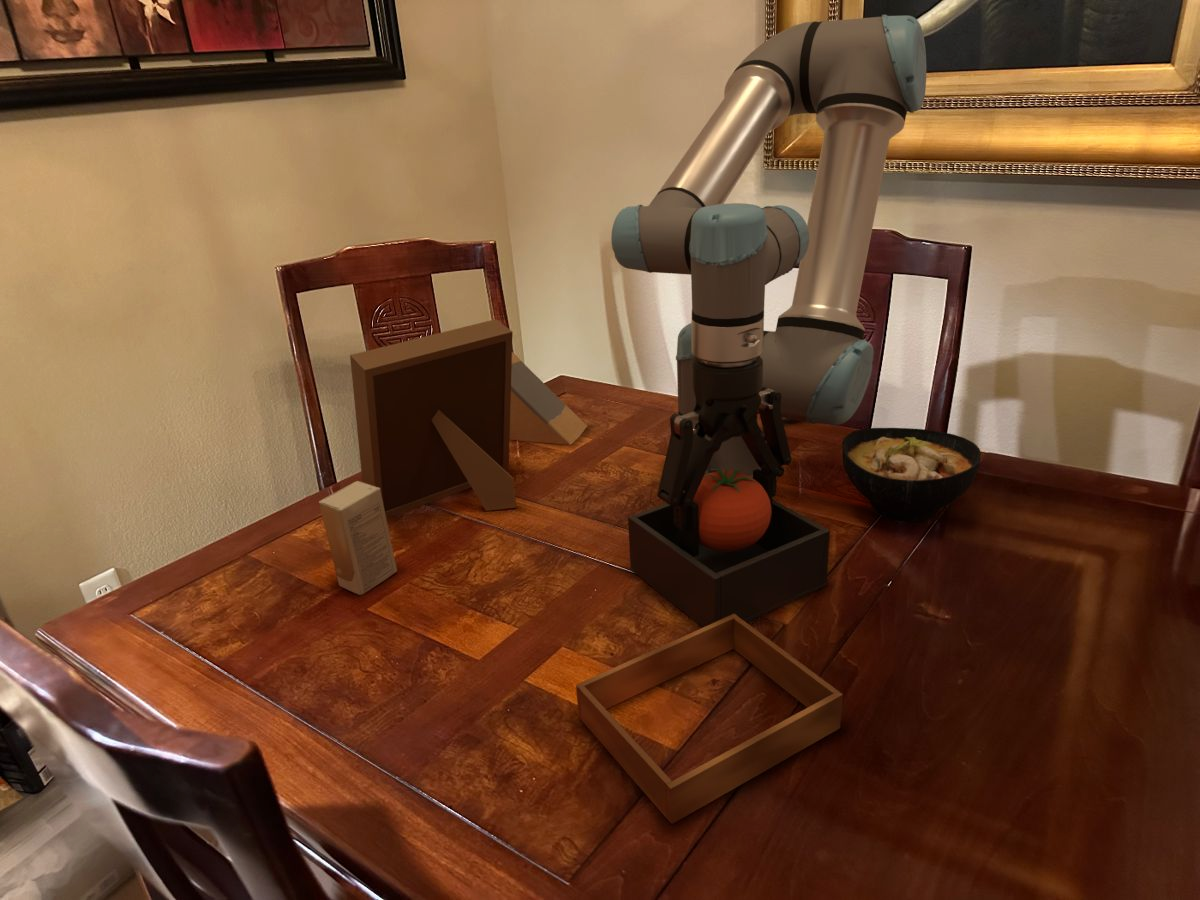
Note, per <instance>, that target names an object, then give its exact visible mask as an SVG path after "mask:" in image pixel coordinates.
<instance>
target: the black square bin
mask: <svg viewBox="0 0 1200 900" xmlns="http://www.w3.org/2000/svg"><path fill="white" fill-rule="evenodd" d="M627 525H628V527H627V528H628V546H629V548H628V549H629V565H630V567H629V570H630V571H631V572H632V573H634V574H635V575H636V576H637V577H639V578H640V579H641V580H642V581H644V582H645V583H646V584H647V585H649V587H651V588H653V589H654V590H655V591H657V592H658V593H659V595H661V596H663V598H665V599H666V600H668V601H669V602H670V603H671V604H672V605H673V606H674V607H676V608H677V609H678V610H680V611H681V612H683V613H684V614H685V615H686V616H688V618H690V619H691V620H692V621H694V622H695V623H696V624H697V625H699V626H700V628H703V627H706V626H708V625H710V624H712V623H714V622H717V621H719V620H721V619H723V618H726V617H728V616H730V615H732V614H735V615H737V616H738V617H739V618H741V619H742V620H743V621H745V622H746V623H747V624H748V623H749V622H751V621H753V620H756V619H758V618H759V617H762V616H764V615H766V614H769V613H771V612H773V611H775V610H777V609H779V608H781V607H783V606H786V605H788V604H790V603H793V602H795V601H797V600H799V599H801V598H804V597H805V596H807V595H810V594H812V593H814V592H816V591H819V590H821V589H823V588H825V587H827V585H828V584H827V583H828V568H829V552H830V539H831V538H830V537H831V530H830V529H828V528H826V527H825V526H823V525H822V524H820V523H817V522H815V521H813V520H811V519H810V518H808V517H806V516H805V515H802V514H800V512H799V513H798V512H797V511H796V510H793V509H792V508H790V507H788V506H786V505H784V504H782V503H781V502H779V501H777V500H775V499H773V505H772V526H770V527H768V528H767V530H766V532H765V533H764V534H763V536H762V537H761V538H760V539H759V540H758V541H757V542H755V543H754V544H753V545H751V546H749V547H747V548H745V549H742V550H739V551H733V552H720V551H716V550H713V549H710V548H708V547H706V546H703V545H702V544H700V543H699V555H697V556H695V557H693V556H691V555H690V554H689V553H687V552H686V551H684V550H683V549H681V548H680V547H679V529H678V528H677V527H675V524H674V507H672V506H670V505H669V504H667V503H666V502H665V503H663V504H660V505H658V506H655V507H652V508H649V509H646V510H642V511H641V512H638V513H635V514H633V515H630V516H628V517H627Z"/></svg>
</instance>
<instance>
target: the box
mask: <svg viewBox="0 0 1200 900" xmlns="http://www.w3.org/2000/svg"><path fill="white" fill-rule="evenodd" d="M732 650H734V651H735V652H736V653H737V654H739V655H740V656H741V657H742V658H744V659H745V660H746V661H747V662H748V663H750V664H751V665H753V666H754V667H755V668H756V669H758V670H759V671H760V672H761V673H762V674H764V675H765V676H766V677H768V678H769V679H770V680H771V681H773V683H775V684H777V685H778V687H780V688H782V689H783V690H784V691H785V692H786V693H788V694H789V695H790V696H792V697H793V698H794V699H795V700H797V701H798V702H799V703H801V705H803V706H804V707H805V708H804V709H802V710H800V711H799V712H796V713H795V714H793V715H791V716H790V717H788V718H786V719H784V720H782V721H781V722H778V723H776V724H775V725H773V726H771V727H769V728H768V729H765V730H764V731H762V732H760V733H758V734H757V735H755V736H753V737H751V738H749V739H747V740H745V741H743V742H742V743H740V744H738V745H736V746H734V747H732V748H731V749H729V750H727V751H725V752H723V753H721V754H719V755H717V756H716V757H714V758H712V759H710V760H708V761H707V762H705V763H703V764H701V765H699V766H697V767H696V768H694V769H692V770H690V771H688V772H686V773H684V774H683V775H681V776H679V777H677V778H675V779H673V780H672V779H671V778H670V777H669V776H668V775H667V773H665V772H664V770H663V769H662V768H661V767H660V766H659V765H658V764H657V763H656V761H654V760H653V759H652V757H650V755H649V754H648V753H647V752H646V751H645V750H644V749H643V748H642V747H641V746H640V744H638V743H637V741H636V740H635V739H634V738H633V737H632V736H631V734H629V732H627V730H626V729H625V728H624V727H623V726H622V725H621V724H620V723H619V722H618V720H616V719H615V717H614V716H613V715H612V714H611V713H610V712H609V711H608V709H610V708H613V707H614V706H616V705H619V704H620V703H622V702H625V701H627V700H629V699H631V698H634V697H635V696H637V695H639V694H642V693H645V692H646V691H648V690H650V689H652V688H654V687H656V686H658V685H660V684H663V683H664V682H667V681H669V680H671V679H673V678H675V677H678V676H679V675H682V674H684V673H686V672H688V671H690V670H692V669H695V668H697V667H699V666H701V665H702V664H705V663H707V662H709V661H711V660H713V659H715V658H718V657H720V656H721V655H724V654H726V653H728V652H730V651H732ZM575 689H576V702H577V703H576V704H577V713H578V714H577V715H578V719H579V720H580V721H581V722H582V723H583V724H584V726H586V728H587V729H588V730H589V731H590V732H591V733H592V735H593V736H594V737H595V738H596V739H597V740H598V742H599V743H600V744H601V745H602V746H603V747H604V749H606V751H607V752H608V753H609V754H610V755H611V756H612V758H613V759H614V760H615V761H616V762H617V763H618V764H619V766H620V767H621V768H622V769H623V770H624V771H625V773H626V774H627V775H628V776H629V777H630V778H631V780H632V781H633V782H634V783H635V784H636V785H637V787H639V789H640V790H641V791H642V792H643V793H644V794H645V795H646V797H647V798H648V799H649V800H650V801H651V802H652V804H653V805H654V806H655V807H656V809H658V810H659V812H660V813H661V814H662V815H663V816H664V817H665V819H666V820H667V821H668V822H669V824H671V825H673V824H675V823H677V822H678V821H680V820H682V819H684V818H686V817H687V816H689V815H690V814H692V813H695V812H696V811H697V810H699V809H702V808H703V807H705V806H707V805H708V804H710V803H712V802H714V801H715V800H717V799H719V798H721V797H722V796H724V795H725V794H728V793H729V792H731V791H733V790H735V789H736V788H738V787H740V786H741V785H743V784H745V783H747V782H749V781H750V780H752V779H754V778H756V777H757V776H759V775H761V774H762V773H764V772H766V771H768V770H770V769H771V768H773V767H775V766H777V765H779V764H780V763H782V762H784V761H785V760H787V759H789V758H790V757H792V756H794V755H796V754H797V753H799V752H801V751H803V750H804V749H806V748H808V747H809V746H811V745H814V744H815V743H817V742H818V741H820V740H822V739H824V738H825V737H828V736H829V735H831V734H832V733H834V732H837V731H838V730H840V729H841V723H842V709H843V697H844V696H843V695H844V694H843V693H842V692H840V691H839V690H837V689H836V687H834V686H832V685H831V684H830V683H828V682H827V681H825V679H823V678H822V677H820V676H819V675H818V674H817V673H815V672H814V671H812V670H811V669H810V668H808V667H807V666H805V665H804V664H803V663H802V662H800V661H799V660H798V659H796V658H795V657H793V655H791V654H789V653H788V652H787V651H785V650H784V649H782V648H781V647H780V646H778V645H777V644H776V643H775V642H773V641H772V640H771V639H769V638H768V637H766V636H765V635H764V634H762V633H761V632H760V631H758V630H757V629H756V628H754V627H753V626H751V624H749V623H748V622H747V623H746V622H745V621H743V620H742V619H741V618H739V617H738V616H737V615H735V614H732V615H730V616H728V617H726V618H723V619H721V620H719V621H717V622H714V623H712V624H710V625H708V626H706V627H700V628H699V629H697V630H695V631H693V632H690V633H688V634H685V635H683V636H682V637H679V638H677V639H675V640H673V641H670V642H668V643H666V644H663V645H661V646H659V647H657V648H654V649H652V650H650V651H647V652H646V653H644V654H641V655H639V656H637V657H634V658H632V659H629V660H628V661H626V662H624V663H622V664H619V665H617V666H614V667H612V668H610V669H608V670H606V671H604V672H601V673H599V674H597V675H595V676H592V677H590V678H588V679H585V680H583V681H581V682H579V683H576V685H575Z"/></svg>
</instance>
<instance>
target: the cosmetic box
mask: <svg viewBox="0 0 1200 900" xmlns="http://www.w3.org/2000/svg"><path fill="white" fill-rule="evenodd" d="M318 504H319V509H320V512H321V517H322V521H323V522H322V523H323V525H324V529H325V533H326V537H327V542H328V545H329V546H328V547H329V551H330V554H331V559H332V563H333V566H334V570H335V571H334V572H335V574H336V579H337V583H338V587H341V588H343V589H345V590H347V591H349V592H352V593H354V594H356V595H358V596H362V595H365V594H366V593H367V592H369V591H370V590H372V589H373V588H375V587H376V586H378V585H379V584H381V583H382V582H384V581H385V580H387V579H388V578H390V577H391V576H393V575H394V574H395V573H397V572H398V567H397V562H396V557H395V553H394V548H393V544H392V539H391V534H390V530H389V525H388V520H387V519H388V518H387V519H386V515H385V510H384V505H383V500H382V496H381V491H380V488H378V487H375V486H372V485H369V484H366V483H363V482H362V481H359V480H356V481H354V482H352V483H350V484H349V485H346V486H345V487H342V488H341V489H339V490H337V491H335V492H334V493H331V494H329V495H328V496H326V497H324V498H322V499H320V500H319V501H318Z"/></svg>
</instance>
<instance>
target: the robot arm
mask: <svg viewBox="0 0 1200 900" xmlns="http://www.w3.org/2000/svg"><path fill="white" fill-rule="evenodd" d="M925 42H926V41H925V36H924V32H923V28H922V26H921V23H920V22H919V20H918V19H916V18H915V17H914V16H912V15H887V14H882V15H881V16H872V17H862V18H850V19H837V20H824V21H805V22H801V23H798V24H795V25H792V26H790V27H788V28H786V29H783V30H782V31H780V32H778V33H776V34H774V35H772V36H771V37H770V38H768V39H767V40H765V41H764V42H762V43H761V44H760V45H759V46H757V47H756V48H755V49H753V50H752V51H751V52H750V53H749V54H748V55H747V56H746V57H745V58H744V59H742V61H741V62H740V63H739V64H738V66H736V68H735V69H734V70H733V72H732V73H731V74H730V76H729V77H728V79H727V81H726V83H725V86H724V91H723V99H722V101H721V102H720V104H719V105H718V106H717V108H716V109H715V110H714V112H713V114H712V115H711V116H710V117H709V119H708V120H707V122H706V123H705V125H704V126H703V127H702V129H701V130H700V131H699V133H698V135H697V136H696V138H695V139H694V140H693V142H692V143H691V145H690V146H689V148H688V149H687V151H686V152H685V153H684V154H683V156H682V158H681V159H680V161H678V164H677V165H676V166H675V168H673V171H672V172H671V174H670V175H669V176H668V178H667V179H666V181H665V182H664V184H662V186H661V188H660V189H659V191H658V192H657V194H656V195H655V196H654V198H653V199H652V200H651V201H650V203H649V204H648V205H644V204H637V205H634V206H626V207H625V208H622V209H621V210H620V211H618V213H617V215H616V217H615V218H614V221H613V224H612V228H611V235H610V237H611V239H610V240H611V241H610V242H611V249H612V251H613V253H614V258H615V260H616V261H617V264H619V265H620V266H622V268H625V269H627V270H634V271H641V272H646V273H649V274H651V273H658V274H673V275H690V280H691V281H690V283H691V322H690V323H688V324H686V325H685V326H684V327H682V329H680V331H679V333H678V335H677V342H676V345H677V346H676V355H675V360H676V376H677V377H676V379H677V412H678V413H673V414H672V415H670V418H669V426H670V427H669V428H670V437H669V442H668V444H667V445H668V446H667V449H666V455H665V459H664V463H663V467H662V472H661V475H660V481H659V484H658V488H657V493H656V496H657V498H658V499H660V500H661V501H662V502H664V503H665V504H666V503H667V504H669V505H670V506H672V507H674V524H675V527H677V528H678V529H679V547H680V548H681V549H683V550H684V551H686V552H687V553H689V554H690V555H691V556H693V557H695V556H697V555H699V520H698V504H697V503H695V502H693V499H694V497H695V495H696V492H697V490H698V488H699V486H700V483H701V481H702V479H703V477H704V475H707V474H709V473H713V472H717V470H713V469H721V471H725V470H726V469H727V470H728V471H737V470H740V471H739V472H740V473H743V474H746V475H748V476H750V477H751V478H753V479H754V480H756V481H757V482H758V483H760V484H761V485H762V487H763V488H764V490H765V491H766V493H767V494H768V497H769V500H770V504H771V518H770V523H769V526H768V527H770V526H772V505H773V500H774V499H773V498H774V497H776V494H777V486H778V485H777V482H778V481H777V479H778V478H781V477H783V476H784V474H785V470H786V469H785V468H784V466H789V465H790V464H791V463H792V460H793V459H792V455H791V451H790V444H789V441H788V435H787V432H786V427H785V425H784V424H789V423H795V422H806V423H808V424H811V425H815V424H822V425H829V426H839V425H842V424H845V423H847V422H848V421H850V419H851V418H852V417H853V416H854V415H855V413H856V412H857V410H858V409H859V407H860V405H861V403H862V401H863V398H864V396H865V394H866V391H867V388H868V385H869V383H870V379H871V376H872V371H873V362H874V357H875V355H874V354H875V352H874V347H873V345H872V344H871V343H870V342H868V341H867V340H865V339H864V336H865V331H866V329H865V327H864V326H863V324H862V322H860V320H859V319H858V317H857V310H858V306H859V300H860V295H861V290H862V285H863V279H864V275H865V268H866V263H867V259H868V253H869V247H870V244H871V243H870V242H871V237H872V234H873V233H872V232H873V227H874V222H875V217H876V212H877V207H878V201H879V196H880V191H881V186H882V181H883V176H884V169H885V165H886V159H887V155H888V149H889V144H890V140H891V139H892V138H894V137H895V136H896V135H898V134H900V133H901V132H902V131H903V130H904V128H905V124H906V123H905V122H906V117H907V114H908V112H909V113H910V114H913V113H915V112H918V111H919V110H921V109H922V107H923V103H924V101H925V96H926V90H927V89H926V88H927V87H926V86H927V52H926V43H925ZM801 114H815V123H816V124H817V126H818V127H819V128H820V130H821V131H822V132H823V138H822V143H821V149H820V153H819V160H818V165H817V170H816V176H815V181H814V186H813V191H812V196H811V201H810V207H809V213H808V218H807V222H806V220H805V218H804V217H803V216H802V214H800V212H798V211H797V210H795V209H794V208H792V207H790V206H787V205H783V204H782V205H781V204H778V205H766V206H763V207H761V206H759V205H756V204H753V203H752V204H751V203H742V202H741V203H739V202H738V203H737V202H733V203H731V202H730V203H725V202H726V201H727V199H728V198H729V196H730V195H731V193H732V191H733V190H734V189H735V186H736V185H737V183H738V182H739V180H740V179H741V177H742V175H743V174H744V173H745V171H746V169H748V166H749V165H750V163H751V161H752V160H753V158H754V156H755V155H756V153H757V152H758V151H759V149H760V147H761V146H762V144H763V143H764V141H765V140H766V138H767V136H768V134H769V133H770V132H771V131H774V130H775V129H778V128H779V127H780V126H782V124H784V122H786V120H787V118H788V117H790V116H794V115H795V116H796V115H801ZM798 264H799V265H798ZM797 265H798V269H797V270H798V271H797V277H796V282H795V287H794V293H793V298H792V302H791V306H790V307H789V308H788V309H786V310H785V311H783V312H782V313H781V314H779V315H778V317H777V322H776V327H775V330H774V331H773V330H764V327H765V295H766V285H768V284H769V283H771V282H773V281H775V280H777V279H778V278H780V277H782V276H785V275H786V274H789V273H790V272H792V271H793V269H794V268H795V267H796V266H797ZM758 415H759V418H760V422H761V426H762V429H763V431H762V429H761V427H760V425H759V422H758Z"/></svg>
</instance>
